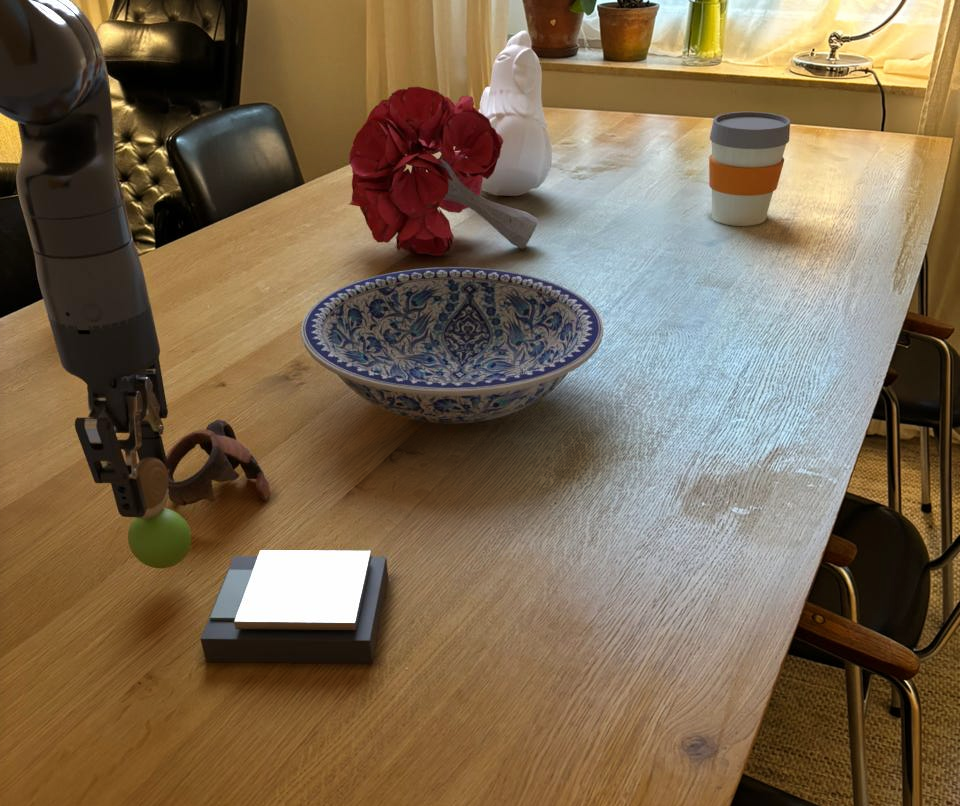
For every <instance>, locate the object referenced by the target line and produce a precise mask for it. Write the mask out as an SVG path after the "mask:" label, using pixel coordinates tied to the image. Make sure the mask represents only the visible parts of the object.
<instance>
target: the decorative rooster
mask: <svg viewBox="0 0 960 806" xmlns="http://www.w3.org/2000/svg"><path fill="white" fill-rule="evenodd" d="M532 44H533V41H532V39H531V36H530V34H529V32H528V31H527V30H521V31H519V32H518V33H516V34H515V35H513V36H511V37H510V38H509V40H508V41H506V44H505V47H504V49H503V50H502V51H500V52H499V54H498V55H497V56H496V57H495V60H494V62H493V65H492V69H491V76H490V84H489V86H486V87H485V88H484V90H483V92H482V95H481V97H480V101H479V110H478V112H479V113H481V114H483V115H484V116H485V117H487V118H488V119H489V120H490V124H491V127H492V128H494V129H495V130H496V133H497V134H499V135H500V136H501V137H502V140H503V144H502V148H501V151H500V157H499V158H498V160H497V164H496V167H495V169H494V172H493V174H492V175H491V176H490V177H489V178H488V179H486V178H484V177H483V181H482V185H481V191H483V192H486V193H487V194H491V195H493V196H505V197H506V196H509V197H519V196H523V195H524V194H527V193H528V192H530V191H532V190H536V189H538V188H539V187H540V186H542V185H543V183H544V182H545V181H546V179H547V177H548V175H549V173H550V171H551V168H552V162H553V149H552V143H551V140H550V136H549V132H548V131H547V128H548V126H547V125H548V124H547V122H546V117H545V113H544V108H543V101H542V100H543V99H542V87H543V86H542V85H543V72H542V65H541V64H540V63H541V62H540V58H539V57H538V55H537V54H536V52H535V51H534V50H533V48H532V47H533V46H532ZM466 158H467V157H466Z"/></svg>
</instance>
